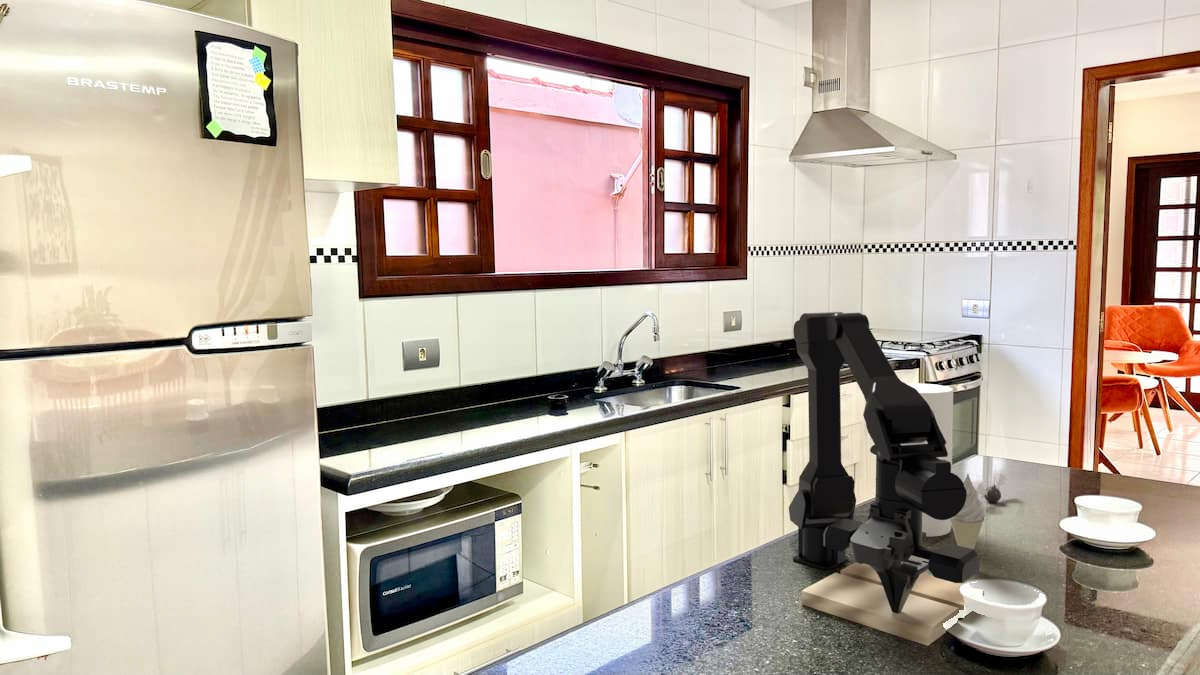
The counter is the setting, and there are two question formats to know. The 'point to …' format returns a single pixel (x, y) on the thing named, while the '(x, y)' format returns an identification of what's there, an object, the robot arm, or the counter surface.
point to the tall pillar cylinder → (943, 412)
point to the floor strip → (923, 586)
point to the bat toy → (992, 490)
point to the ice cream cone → (968, 518)
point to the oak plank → (879, 608)
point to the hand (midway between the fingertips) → (896, 612)
